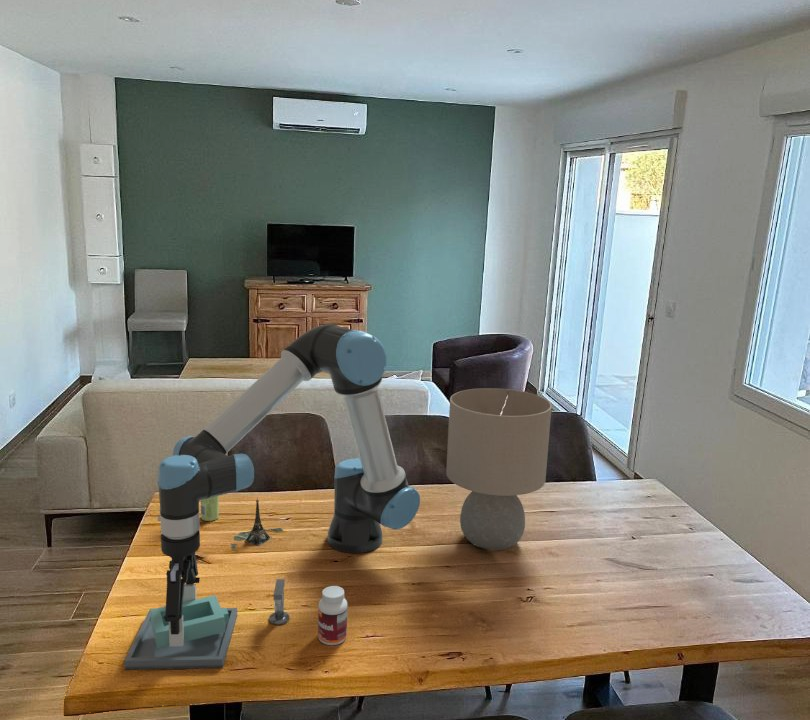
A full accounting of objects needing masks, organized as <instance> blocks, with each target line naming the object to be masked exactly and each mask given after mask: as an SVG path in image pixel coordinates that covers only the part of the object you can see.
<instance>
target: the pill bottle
mask: <svg viewBox="0 0 810 720" xmlns="http://www.w3.org/2000/svg"><path fill="white" fill-rule="evenodd" d="M317 607H318V609H317V612H318V614H317V615H318V616H317V618H318V619H317V620H318V622H317V626H318V627H317V638H318V640H319V641H320V643H322V644H324V645H327V646H337V645H340V644H342V643H343V642H345V641H346V639H347V635H348V601H347V599H346V597H345V590H344V588H343V587H340V586H339V585H330V586H327V587H325V588H324V589H322V591H321V599H320V600H319V601H318V606H317Z"/></svg>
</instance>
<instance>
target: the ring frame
mask: <svg viewBox="0 0 810 720" xmlns="http://www.w3.org/2000/svg"><path fill="white" fill-rule="evenodd" d="M221 608H222V609H221ZM226 608H227V607H221V605H220V603H219V600H218V598H217V596H216V594H215V595H214V594H213V595H211V596H206V597H201V598H196V600H191V601H187V602H183V605H182V615H183V624H184V642H186V641H190V640H194V639H198V638H202V637H207V636H211V635H215V634H219V633H223V632H225V623H226V622H229V613H228V611H227V609H226ZM150 609H151V624H152V629H153V633H154V637H155V642H156V646H157V649H158V648H162V647H166V646H170V644H169V622H165V619H164V616H165V613H166V605H164V606H160V607H156V608H150ZM201 617H202V618H201ZM188 620H189V621H188Z"/></svg>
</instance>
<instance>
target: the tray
mask: <svg viewBox="0 0 810 720" xmlns="http://www.w3.org/2000/svg"><path fill="white" fill-rule="evenodd" d="M222 608H223V607H221V609H222ZM225 608H226V609H227V611H228V613H229V622H226V623H225V632H223V633H219V634H215V635H211V636H207V637H202V638H198V639H194V640H190V641H186V642H184V646H174V647H170V646H166V647H162V648H158V649H157V646H156V642H155V637H154V633H153V629H152V624H151V609H152V608H150V609H149V610H148V612H147V614H146V615H145V618H144V620H143V622H142V624H141V625H140V626H141V627H140V628H139V630H138V632H137V634H136V636H135V638H134V641H133V642H132V644H131V646H130V648H129V651H128V652H127V654H126V657H125V658H124V660H123V662H124V663H123V666H124V667H123V668H124V670H125V671H134V670H136V671H137V670H138V671H140V670H189V669H190V670H191V669H192V670H193V669H223V668H224V665H225V662H226V659H227V654H228V651H229V647H230V643H231V639H232V636H233V633H234V630H235V625H236V621H237V618H238V607H225ZM201 618H202V617H201ZM188 621H189V620H188Z"/></svg>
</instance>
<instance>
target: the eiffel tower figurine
mask: <svg viewBox="0 0 810 720" xmlns="http://www.w3.org/2000/svg"><path fill="white" fill-rule="evenodd" d="M256 498H257V499H256V500H255V502H256V504H255V507H256V508H255V518H254V522H253V527H252V529H251V530H249V531H243V532H239V533H238V534H236V535H234V536H233V540H234V542H240V541H243V542H245V543H248V544H252V545H255V546H258V547H261V546H262V545H264V544H265V543H267V542H269V540H271V539H272V537H271V536H270V535H269V534H268V533H267V531H269V532H270V531H271V532H274V533H281V532H284V529H283V527H276V528H269V529H266V528H264V527H263V524H262V521H261V514H260V505H259V502H260V501H259V499H258V498H259V497H256ZM237 545H238V544H237V543H231V544H230V547H231V550H232V551H236V546H237Z"/></svg>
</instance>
